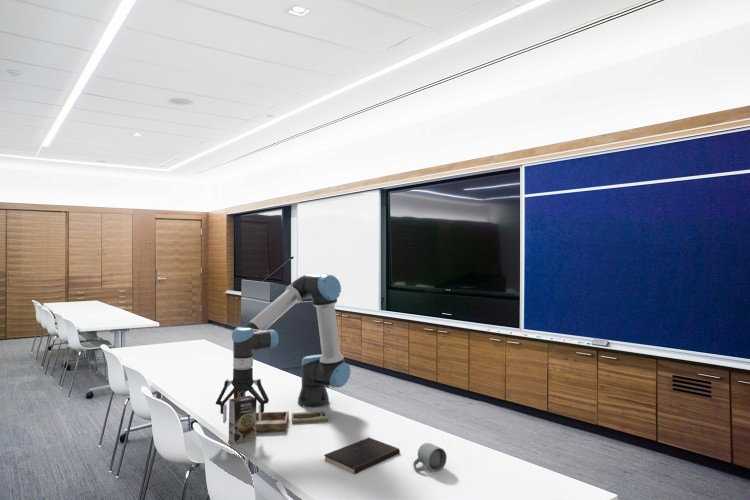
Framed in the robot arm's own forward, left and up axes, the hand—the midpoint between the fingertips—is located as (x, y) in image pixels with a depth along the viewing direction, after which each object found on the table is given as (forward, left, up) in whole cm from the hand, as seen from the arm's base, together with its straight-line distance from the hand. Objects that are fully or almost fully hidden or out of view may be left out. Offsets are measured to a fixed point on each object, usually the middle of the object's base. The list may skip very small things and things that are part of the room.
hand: (242, 421), depth 189 cm
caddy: (-9, -14, -7) cm, 18 cm away
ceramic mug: (-68, +32, -7) cm, 76 cm away
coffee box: (0, 0, -7) cm, 7 cm away
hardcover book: (-46, +21, -8) cm, 51 cm away
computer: (-26, -20, -8) cm, 34 cm away
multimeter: (+6, -48, -7) cm, 49 cm away
